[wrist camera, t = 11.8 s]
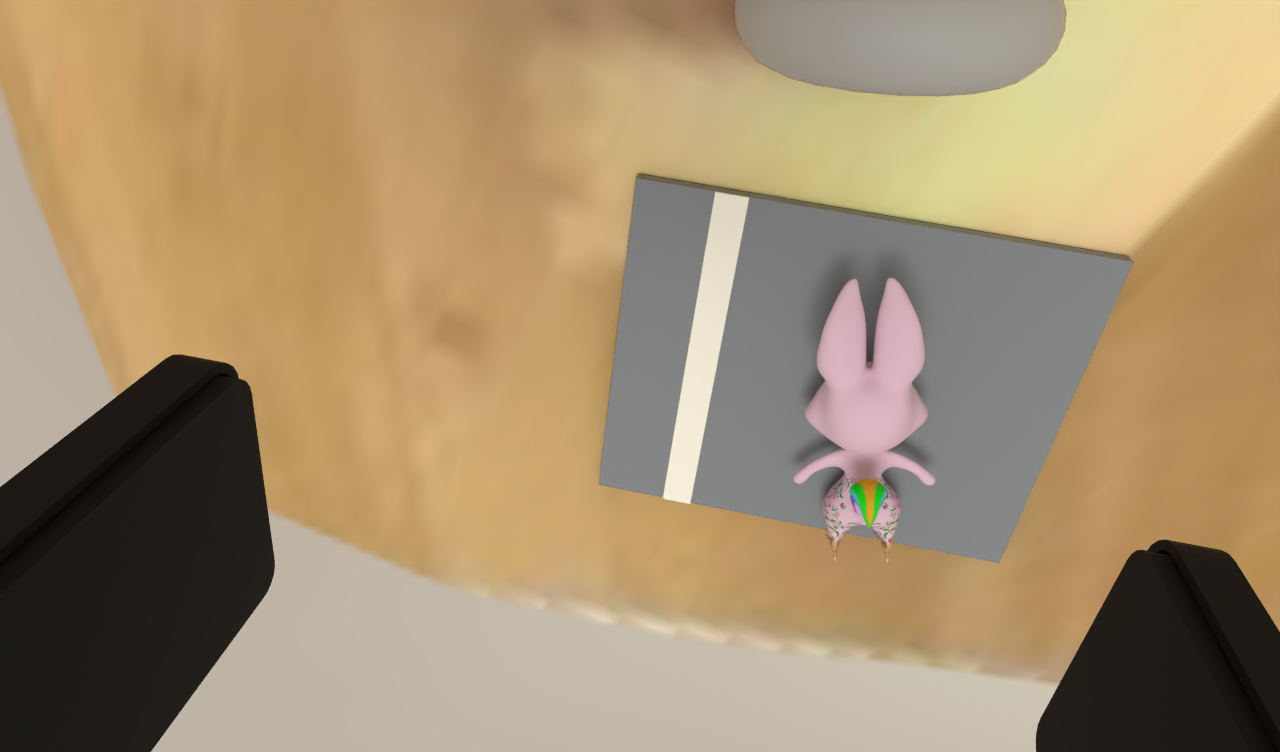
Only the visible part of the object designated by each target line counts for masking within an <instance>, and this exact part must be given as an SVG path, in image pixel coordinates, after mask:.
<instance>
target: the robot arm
mask: <svg viewBox="0 0 1280 752" xmlns="http://www.w3.org/2000/svg"><path fill="white" fill-rule="evenodd" d="M274 561H275V560H274V553H273V546H272V539H271V531H270V524H269V516H268V509H267V502H266V495H265V487H264V480H263V473H262V465H261V458H260V451H259V443H258V436H257V429H256V421H255V414H254V407H253V400H252V393H251V389H250V386H249V385H248V383H247V382H246V381H244V380H241V379H239V377H238V374H237V372H236V370H235V369H234V367H233V366H231V365H229V364H228V363H223V362H218V361H213V360H207V359H202V358H197V357H191V356H186V355H181V354H180V355H172V356H170V357H168V358H166V359H165V360H163V361H162V362H161V363H159V364H158V365H157V366H156V367H154V368H153V369H152V370H150V371H149V372H148V373H147V374H145V375H144V376H143V377H141V378H140V379H139V380H138V381H136V382H135V383H134V384H132V385H131V386H130V387H129V388H127V389H126V390H125V391H123V392H122V393H121V394H120V395H118V396H117V397H116V398H114V399H113V400H112V401H111V402H109V403H108V404H107V405H105V406H104V407H103V408H102V409H100V410H99V411H98V412H96V413H95V414H94V415H93V416H92V417H90V418H89V419H87V420H86V421H85V422H84V423H82V424H81V425H80V426H78V427H77V428H76V429H74V430H73V431H72V432H71V433H69V434H68V435H67V436H65V437H64V438H63V439H62V440H60V441H59V442H58V443H57V444H55V445H54V446H53V447H51V448H50V449H49V450H48V451H46V452H45V453H44V454H42V455H41V456H40V457H39V458H37V459H36V460H35V461H33V462H32V463H31V464H30V465H28V466H27V467H26V468H24V469H23V470H22V471H20V472H19V473H18V474H17V475H15V476H14V477H13V478H11V479H10V480H9V481H7V483H5V484H4V485H2V486H1V487H0V752H151V751H152V749H153V748H154V747H155V745H156V744H157V742H158V741H159V740H160V738H161V737H162V736H163V734H164V733H165V732H166V730H167V729H168V727H169V726H170V725H171V723H172V722H173V721H174V719H175V718H176V717H177V715H178V714H179V712H180V711H181V710H182V708H183V707H184V706H185V704H186V703H187V701H188V700H189V699H190V697H191V696H192V695H193V693H194V692H195V690H196V689H197V688H198V686H199V685H200V684H201V682H202V681H203V679H204V678H205V677H206V675H207V674H208V673H209V671H210V670H211V669H212V667H213V666H214V665H215V663H216V662H217V661H218V659H219V658H220V656H221V655H222V654H223V652H224V651H225V649H226V648H227V647H228V646H229V644H230V642H231V641H232V640H233V639H234V637H235V636H236V635H237V633H238V632H239V631H240V629H241V628H242V626H243V625H244V624H245V622H246V621H247V620H248V618H249V617H250V615H251V614H252V613H253V611H254V610H255V609H256V607H257V606H258V605H259V603H260V602H261V600H262V599H263V598H264V596H265V595H266V593H267V591H268V589H269V587H270V585H271V582H272V578H273V575H274V568H275V562H274ZM1036 752H1280V632H1279V630H1278V628H1277V627H1276V625H1275V624H1274V622H1273V621H1272V619H1271V617H1270V616H1269V614H1268V613H1267V611H1266V609H1265V608H1264V606H1263V605H1262V603H1261V601H1260V600H1259V598H1258V597H1257V595H1256V593H1255V592H1254V590H1253V589H1252V587H1251V586H1250V584H1249V582H1248V581H1247V579H1246V578H1245V576H1244V574H1243V573H1242V571H1241V570H1240V568H1239V566H1238V565H1237V563H1236V562H1235V560H1234V559H1233V558H1232V557H1231V556H1230V555H1229V554H1228V553H1226V552H1224V551H1222V550H1218V549H1212V548H1207V547H1202V546H1197V545H1191V544H1186V543H1181V542H1175V541H1170V540H1158V541H1157V542H1155V543H1154V544H1152V545H1151V546H1150V548H1149V549H1148V550H1147V551H1145V550H1137V551H1135V552H1134V553H1132V554H1131V556H1130V557H1129V558H1128V560H1127V561H1126V563H1125V565H1124V567H1123V569H1122V571H1121V572H1120V574H1119V576H1118V578H1117V580H1116V582H1115V583H1114V585H1113V587H1112V589H1111V591H1110V592H1109V594H1108V596H1107V598H1106V600H1105V602H1104V603H1103V605H1102V607H1101V609H1100V611H1099V613H1098V614H1097V616H1096V618H1095V620H1094V622H1093V624H1092V625H1091V627H1090V629H1089V631H1088V633H1087V635H1086V636H1085V638H1084V640H1083V642H1082V644H1081V645H1080V647H1079V649H1078V651H1077V653H1076V655H1075V656H1074V658H1073V660H1072V662H1071V664H1070V666H1069V667H1068V669H1067V671H1066V673H1065V675H1064V677H1063V678H1062V680H1061V682H1060V684H1059V686H1058V687H1057V689H1056V691H1055V693H1054V695H1053V697H1052V698H1051V700H1050V702H1049V704H1048V706H1047V708H1046V709H1045V711H1044V713H1043V715H1042V717H1041V719H1040V721H1039V724H1038V728H1037V733H1036Z"/></svg>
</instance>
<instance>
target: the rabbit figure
mask: <svg viewBox="0 0 1280 752" xmlns="http://www.w3.org/2000/svg"><path fill="white" fill-rule="evenodd" d="M924 360H925V347H924V341H923V333H922V329H921V325H920V322H919V319H918V317H917V314H916V312H915V310H914V308H913V306H912V304H911V302H910V300H909V298H908V296H907V294H906V292H905V290H904V289H903V287H902V286H901V284H900V283H899V282H898V281H897V280H896V279H894V278H888V279H887V282H886V286H885V290H884V295H883V298H882V302H881V305H880V309H879V312H878V318H877V324H876V332H875V341H874V353H873V362H866V321H865V313H864V309H863V304H862V301H861V296H860V291H859V285H858V281H857V280H856V279H851V280H849V281H848V282H847V283H846V284H845V286H844V287H843V289H842V290H841V292H840V293H839V295H838V297H837V299H836V301H835V303H834V305H833V308H832V310H831V312H830V314H829V316H828V318H827V321H826V323H825V326H824V329H823V332H822V336H821V340H820V344H819V347H818V351H817V367H818V370H819V372H820V374H821V375H822V376H823V378H824V379H825V381H824V383H823V384H822V385H821V387H820V388H819V389H818V391H817V392H816V394H815V396H814V397H813V399H812V400H811V402H810V403H809V404H808V406H807V407H806V410H805V416H806V419H807V420H808V422H809V423H810V424H811V425H812V426H813V427H814V428H816V429H817V430H818V431H819V432H820V433H822V434H823V435H824V436H826V437H827V438H828V439H830V440H831V441H832V442H834V443H835V444H837V445H838V446H840V447H842V448H840V449H838V450H835V451H832V452H829V453H827V454H825V455H823V456H821V457H819V458H817V459H815V460H813V461H812V462H810V463H809V464H807V465H806V466H804V467H803V468H802V469H800V470H799V471H798V472H796V473H795V474H794V476H793V480H794V482H796V483H798V484H801V483H803V482H805V481H806V480H807V479H808V478H809V477H810V476H811V475H812V474H813V473H815V472H817V471H819V470H821V469H824V468H827V467H832V466H835V467H839V468H841V469H842V470H843V471H844V475H843V476H842V477H841V478H840V479H839V480H838V481H837V482H836V483H835V484H834V485H833V486H832V488H831V489H830V490H829V491H828V493H827V494H826V496H825V498H824V502H823V516H824V520H825V523H826V526H827V528H828V531H829V534H830V536H831V537H828V535H825V538H826V537H827V541H828V543H829V544H830V546H831V548H832V551H833V553H834V560H835V559H836V552H837V548H838V545H839V543H840V541H841V538H845V537H844V536H843V535H844V534H845V533H846V532H847V531H848V530H849V529H850V528H851V527H852V526H857V525H867V526H868V527H869V528H870V527H872V528H873V529H874V530H875V532H876V533H877V534H878V535H879V536H880V537H881V538H879V537H874V539H878V541H879V543H880V544H881V546H882V548H883V550H884V553H885V554H886V560H887V563H888V554H889V550H890V548H891V546H892V543H893V539H894V537H893V536H894V533H895V531H896V528H897V525H898V522H899V519H900V514H901V503H900V500H899V498H898V496H897V494H896V493H895V492H894V490H893V489H892V488H891V487H890V486H889V485H888V483H887V482H886V481H885V480H884V479H883V477H882V473H883V472H884V471H885V470H886V469H887V468H890V467H898V468H902V469H905V470H908V471H910V472H912V473H914V474H915V475H916V476H917V477H918V478H919V479H920V480H921V481H922V482H923V483H924V484H926V485H933V484H934V483H935V481H936V479H935V477H934V475H933V474H932V473H930V472H929V471H928V470H927V469H925V468H924V467H923V466H921V465H920V464H919V463H917V462H915V461H914V460H912V459H910V458H908V457H906V456H904V455H902V454H900V453H898V452H895V451H893V450H890V449H891V448H893V447H895V446H897V445H898V444H900V443H901V442H902V441H903V440H905V439H906V438H907V437H908V436H909V435H911V434H912V433H913V432H914V431H915V430H917V429H918V428H919V427H920V426H921V425H922V424H923V423H924V422H925V420H926V419H927V416H928V410H927V408H926V406H925V404H924V403H923V401H922V399H921V398H920V396H919V394H918V392H917V391H916V389H915V387H914V386H913V384H912V381H913V380H914V379H915V378H916V377H917V375H918V374H919V373H920V371H921V370H922V368H923V365H924Z"/></svg>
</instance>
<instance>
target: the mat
mask: <svg viewBox="0 0 1280 752" xmlns="http://www.w3.org/2000/svg"><path fill="white" fill-rule="evenodd" d="M1132 264H1133V261H1132V260H1131V259H1130V258H1129V257H1128V256H1123V255H1117V254H1111V253H1105V252H1100V251H1094V250H1088V249H1082V248H1076V247H1070V246H1064V245H1058V244H1052V243H1046V242H1040V241H1034V240H1028V239H1022V238H1016V237H1010V236H1005V235H999V234H993V233H987V232H981V231H975V230H969V229H963V228H957V227H951V226H945V225H939V224H933V223H927V222H921V221H916V220H910V219H904V218H898V217H892V216H886V215H880V214H874V213H868V212H862V211H856V210H850V209H844V208H838V207H832V206H826V205H821V204H815V203H809V202H803V201H797V200H791V199H785V198H779V197H773V196H767V195H761V194H755V193H749V192H743V191H737V190H732V189H726V188H720V187H714V186H708V185H702V184H696V183H690V182H684V181H678V180H672V179H666V178H660V177H654V176H648V175H642V174H638V176H637V177H636V184H635V192H634V200H633V208H632V216H631V224H630V233H629V241H628V249H627V257H626V265H625V274H624V282H623V290H622V298H621V306H620V315H619V323H618V331H617V339H616V347H615V356H614V364H613V372H612V380H611V388H610V396H609V405H608V413H607V421H606V429H605V437H604V446H603V454H602V462H601V470H600V478H599V485H602V486H607V487H612V488H618V489H623V490H628V491H633V492H638V493H643V494H648V495H653V496H659V497H663V499H667V500H672V501H678V502H683V503H688V504H690V503H694V504H699V505H705V506H710V507H715V508H720V509H725V510H730V511H735V512H740V513H745V514H751V515H756V516H761V517H766V518H771V519H776V520H781V521H786V522H792V523H797V524H802V525H807V526H812V527H817V528H822V529H827V530H828V528H827V526H826V523H825V520H824V516H823V502H824V498H825V496H826V494H827V493H828V491H829V490H830V489H831V488H832V486H833V485H834V484H835V483H836V482H837V481H838V480H839V479H840V478H841V477H842V476H843V475H844V471H843V470H842V469H841V468H839V467H835V466H832V467H827V468H824V469H821V470H819V471H817V472H815V473H813V474H812V475H811V476H810V477H809V478H808V479H807V480H806V481H805V482H803V483H801V484H798V483H796V482H794V480H793V476H794V474H795V473H796V472H798V471H799V470H800V469H802V468H803V467H804V466H806V465H807V464H809V463H810V462H812V461H813V460H815V459H817V458H819V457H821V456H823V455H825V454H827V453H829V452H832V451H835V450H838V449H840V448H842V447H840V446H838V445H837V444H835V443H834V442H832V441H831V440H830V439H828V438H827V437H826V436H824V435H823V434H822V433H820V432H819V431H818V430H817V429H816V428H814V427H813V426H812V425H811V424H810V423H809V422H808V420H807V419H806V416H805V410H806V407H807V406H808V404H809V403H810V402H811V400H812V399H813V397H814V396H815V394H816V392H817V391H818V389H819V388H820V387H821V385H822V384H823V383H824V381H825V379H824V378H823V376H822V375H821V374H820V372H819V370H818V367H817V351H818V347H819V344H820V340H821V336H822V332H823V329H824V326H825V323H826V321H827V318H828V316H829V314H830V312H831V310H832V308H833V305H834V303H835V301H836V299H837V297H838V295H839V293H840V292H841V290H842V289H843V287H844V286H845V284H846V283H847V282H848V281H849V280H851V279H856V280H857V281H858V285H859V291H860V296H861V301H862V304H863V309H864V313H865V321H866V362H873V353H874V341H875V332H876V324H877V318H878V312H879V309H880V305H881V302H882V298H883V295H884V290H885V286H886V282H887V279H888V278H894V279H896V280H897V281H898V282H899V283H900V284H901V286H902V287H903V289H904V290H905V292H906V294H907V296H908V298H909V300H910V302H911V304H912V306H913V308H914V310H915V312H916V314H917V317H918V319H919V322H920V325H921V329H922V333H923V341H924V347H925V360H924V365H923V368H922V370H921V371H920V373H919V374H918V375H917V377H916V378H915V379H914V380H913V381H912V384H913V386H914V387H915V389H916V391H917V392H918V394H919V396H920V398H921V399H922V401H923V403H924V404H925V406H926V408H927V410H928V416H927V419H926V420H925V422H924V423H923V424H922V425H921V426H920V427H919V428H918V429H917V430H915V431H914V432H913V433H912V434H911V435H909V436H908V437H907V438H906V439H905V440H903V441H902V442H901V443H900V444H898V445H897V446H895V447H893V448H891V449H890V450H893V451H895V452H898V453H900V454H902V455H904V456H906V457H908V458H910V459H912V460H914V461H915V462H917V463H919V464H920V465H921V466H923V467H924V468H925V469H927V470H928V471H929V472H930V473H932V474H933V475H934V477H935V479H936V481H935V483H934V484H933V485H926V484H924V483H923V482H922V481H921V480H920V479H919V478H918V477H917V476H916V475H915V474H914V473H912V472H910V471H908V470H905V469H902V468H898V467H890V468H887V469H886V470H885V471H884V472H883V473H882V477H883V479H884V480H885V481H886V482H887V483H888V485H889V486H890V487H891V488H892V489H893V490H894V492H895V493H896V494H897V496H898V498H899V500H900V503H901V514H900V519H899V522H898V525H897V528H896V531H895V533H894V536H893V537H894V539H893V542H894V543H899V544H904V545H909V546H914V547H919V548H924V549H930V550H935V551H940V552H945V553H950V554H955V555H960V556H965V557H971V558H976V559H981V560H986V561H991V562H996V563H999V562H1000V560H1001V558H1002V556H1003V553H1004V551H1005V549H1006V547H1007V544H1008V542H1009V540H1010V538H1011V535H1012V533H1013V531H1014V529H1015V526H1016V524H1017V522H1018V520H1019V517H1020V515H1021V513H1022V511H1023V508H1024V506H1025V504H1026V502H1027V499H1028V497H1029V495H1030V493H1031V490H1032V488H1033V486H1034V484H1035V481H1036V479H1037V477H1038V475H1039V473H1040V470H1041V468H1042V466H1043V464H1044V461H1045V459H1046V457H1047V455H1048V452H1049V450H1050V448H1051V446H1052V443H1053V441H1054V439H1055V437H1056V434H1057V432H1058V430H1059V428H1060V425H1061V423H1062V421H1063V419H1064V416H1065V414H1066V412H1067V410H1068V407H1069V405H1070V403H1071V401H1072V398H1073V396H1074V394H1075V392H1076V389H1077V387H1078V385H1079V383H1080V381H1081V378H1082V376H1083V374H1084V372H1085V369H1086V367H1087V365H1088V363H1089V360H1090V358H1091V356H1092V354H1093V351H1094V349H1095V347H1096V345H1097V342H1098V340H1099V338H1100V336H1101V333H1102V331H1103V329H1104V327H1105V324H1106V322H1107V320H1108V318H1109V315H1110V313H1111V311H1112V309H1113V306H1114V304H1115V302H1116V300H1117V297H1118V295H1119V293H1120V291H1121V289H1122V286H1123V284H1124V282H1125V280H1126V277H1127V275H1128V273H1129V271H1130V268H1131V266H1132ZM846 533H848V534H853V535H858V536H863V537H868V538H873V539H874V537H879V538H881V537H880V536H879V535H878V534H877V533H876V532H875V530H874V529H873V528H872V527H870V528H869V527H868V526H867V525H857V526H852V527H851V528H850V529H849V530H848V531H847V532H846Z"/></svg>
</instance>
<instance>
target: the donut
mask: <svg viewBox="0 0 1280 752" xmlns="http://www.w3.org/2000/svg"><path fill="white" fill-rule="evenodd" d="M734 9H735V22H736V27H737V29H738V32H739V35H740V37H741V40H742V42H743V43H744V45H745V47H746V49H747V50H748V51H749V53H750V54H751V55H752V56H753V57H754V58H755V60H756V61H757V62H759V63H761V64H762V65H764V66H766V67H768V68H770V69H771V70H773V71H776V72H778V73H780V74H782V75H784V76H786V77H788V78H792V79H795V80H799V81H803V82H806V83H810V84H814V85H818V86H824V87H830V88H836V89H842V90H848V91H854V92H865V93H876V94H887V95H902V96H950V95H966V94H976V93H981V92H986V91H991V90H996V89H1000V88H1003V87H1006V86H1009V85H1013V84H1016V83H1017V82H1019V81H1021V80H1022V79H1024V78H1025V77H1027V76H1029V75H1030V74H1032V73H1033V72H1034V71H1036V70H1037V69H1039V68H1040V67H1042V66H1043V65H1044V64H1045V63H1046V62H1047V61H1048V59H1049V58H1050V57H1051V56H1052V55H1053V53H1054V52H1055V51H1056V50H1057V48H1058V45H1059V43H1060V41H1061V38H1062V36H1063V34H1064V31H1065V22H1066V8H1065V4H1064V0H736V3H735V8H734Z"/></svg>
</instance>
